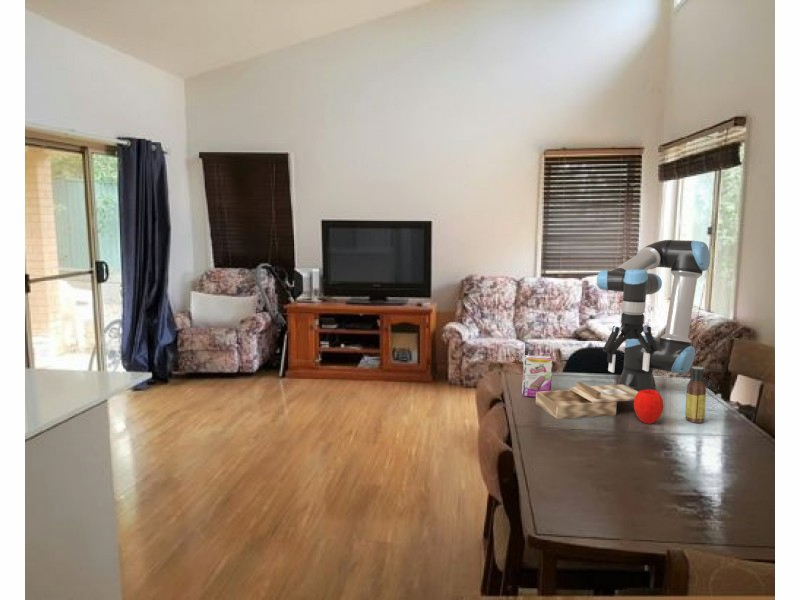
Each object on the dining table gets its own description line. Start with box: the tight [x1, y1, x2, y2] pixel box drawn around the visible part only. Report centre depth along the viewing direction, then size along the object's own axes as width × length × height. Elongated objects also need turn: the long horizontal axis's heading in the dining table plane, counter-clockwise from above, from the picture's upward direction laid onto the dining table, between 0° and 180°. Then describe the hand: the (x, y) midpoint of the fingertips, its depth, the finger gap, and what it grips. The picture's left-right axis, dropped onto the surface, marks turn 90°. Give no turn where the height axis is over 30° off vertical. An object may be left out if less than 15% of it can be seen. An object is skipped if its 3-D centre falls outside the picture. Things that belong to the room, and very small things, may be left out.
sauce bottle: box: [684, 365, 707, 424], centre depth 207 cm, size 6×6×20 cm
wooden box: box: [535, 389, 618, 420], centre depth 218 cm, size 24×17×5 cm
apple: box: [633, 389, 664, 425], centre depth 206 cm, size 10×10×12 cm
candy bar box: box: [521, 354, 554, 398], centre depth 233 cm, size 11×5×16 cm, turn 84°
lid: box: [568, 381, 638, 403], centre depth 221 cm, size 24×17×3 cm
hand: (628, 371), depth 207 cm, fingers open, 13 cm apart
